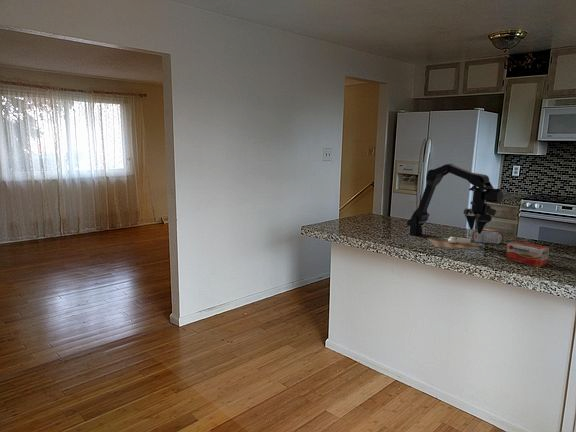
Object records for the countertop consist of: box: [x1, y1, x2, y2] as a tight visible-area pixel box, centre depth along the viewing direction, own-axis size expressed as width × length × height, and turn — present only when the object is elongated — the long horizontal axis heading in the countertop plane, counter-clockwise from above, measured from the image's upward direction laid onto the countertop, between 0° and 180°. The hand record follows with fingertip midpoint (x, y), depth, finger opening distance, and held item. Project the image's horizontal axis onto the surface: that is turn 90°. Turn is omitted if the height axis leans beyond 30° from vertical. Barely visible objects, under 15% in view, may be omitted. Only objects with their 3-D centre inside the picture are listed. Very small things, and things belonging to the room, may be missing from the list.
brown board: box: [426, 237, 481, 250], centre depth 216 cm, size 22×20×1 cm
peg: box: [447, 236, 475, 244], centre depth 214 cm, size 12×4×3 cm, turn 64°
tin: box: [471, 227, 504, 245], centre depth 218 cm, size 15×3×8 cm, turn 71°
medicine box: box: [505, 240, 550, 268], centre depth 188 cm, size 15×8×8 cm, turn 38°
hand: (475, 231), depth 205 cm, fingers open, 9 cm apart
